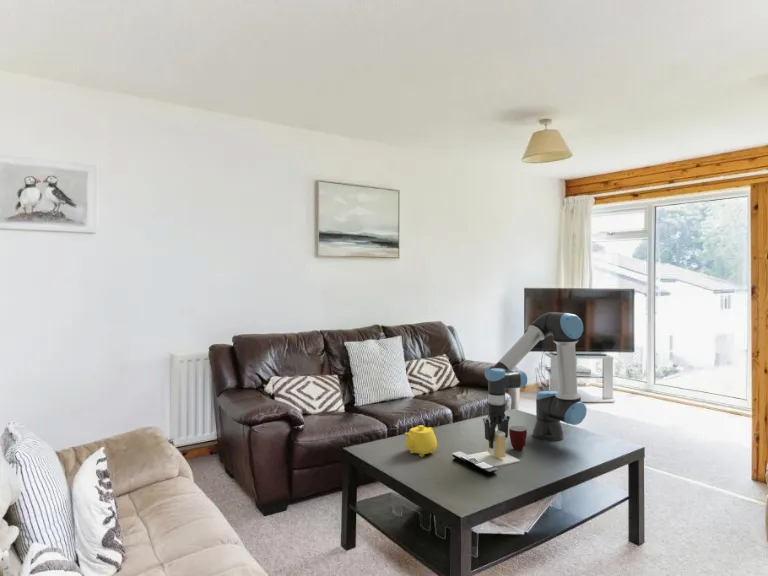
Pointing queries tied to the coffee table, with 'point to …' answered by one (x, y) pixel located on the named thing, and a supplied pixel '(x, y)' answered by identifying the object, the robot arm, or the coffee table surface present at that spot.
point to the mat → (494, 459)
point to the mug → (518, 437)
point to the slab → (499, 444)
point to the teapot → (421, 440)
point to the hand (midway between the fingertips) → (496, 454)
